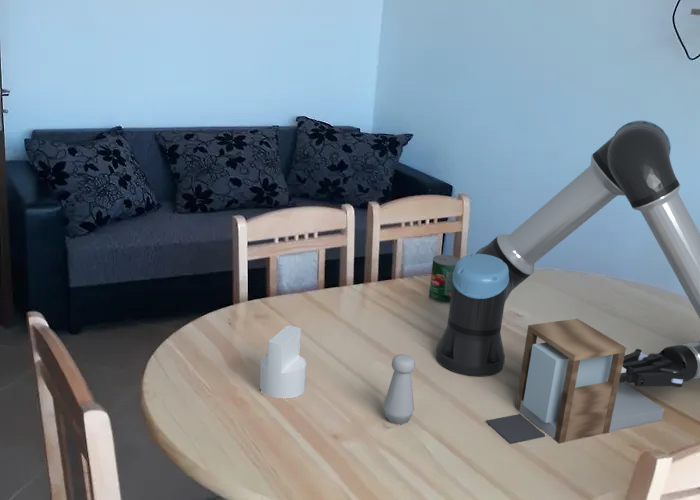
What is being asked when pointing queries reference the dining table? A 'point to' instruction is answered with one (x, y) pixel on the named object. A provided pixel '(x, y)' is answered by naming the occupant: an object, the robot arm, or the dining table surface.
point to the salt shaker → (400, 391)
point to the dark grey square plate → (515, 428)
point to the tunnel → (581, 402)
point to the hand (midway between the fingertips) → (597, 378)
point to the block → (557, 379)
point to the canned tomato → (442, 278)
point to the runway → (615, 411)
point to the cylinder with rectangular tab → (283, 365)
